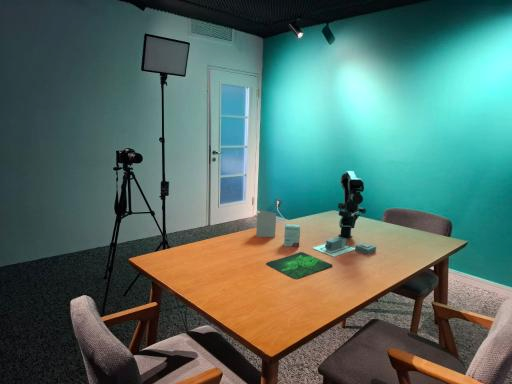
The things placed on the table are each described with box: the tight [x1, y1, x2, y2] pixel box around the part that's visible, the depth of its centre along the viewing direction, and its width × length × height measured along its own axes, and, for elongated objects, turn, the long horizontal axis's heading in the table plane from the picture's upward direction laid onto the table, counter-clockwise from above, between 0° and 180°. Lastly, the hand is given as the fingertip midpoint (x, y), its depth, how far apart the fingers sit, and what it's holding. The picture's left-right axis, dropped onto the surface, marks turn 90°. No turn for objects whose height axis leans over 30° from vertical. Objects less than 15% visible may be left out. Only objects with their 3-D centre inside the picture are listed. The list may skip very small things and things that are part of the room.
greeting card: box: [255, 210, 277, 238], centre depth 207 cm, size 11×7×15 cm, turn 58°
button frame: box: [354, 242, 377, 256], centre depth 191 cm, size 8×8×3 cm
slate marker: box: [325, 236, 347, 251], centre depth 192 cm, size 14×4×5 cm, turn 129°
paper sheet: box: [312, 243, 355, 258], centre depth 192 cm, size 20×15×1 cm
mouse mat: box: [265, 251, 333, 280], centre depth 169 cm, size 27×22×1 cm
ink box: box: [283, 223, 301, 248], centre depth 195 cm, size 9×5×12 cm, turn 84°
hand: (351, 226), depth 199 cm, fingers closed
